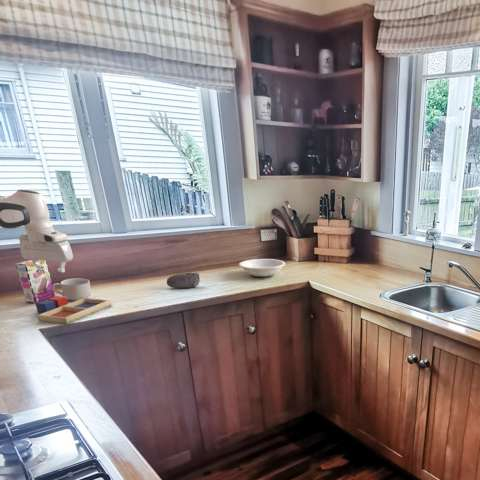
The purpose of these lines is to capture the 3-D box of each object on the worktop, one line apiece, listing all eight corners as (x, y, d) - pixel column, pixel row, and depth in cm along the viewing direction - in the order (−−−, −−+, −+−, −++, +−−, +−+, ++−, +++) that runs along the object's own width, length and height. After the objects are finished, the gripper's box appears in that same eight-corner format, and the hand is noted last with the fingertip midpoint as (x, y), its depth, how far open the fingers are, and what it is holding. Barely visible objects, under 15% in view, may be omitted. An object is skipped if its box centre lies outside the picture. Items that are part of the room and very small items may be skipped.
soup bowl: (270, 268, 265) (270, 257, 263) (294, 276, 250) (293, 264, 247) (232, 274, 251) (230, 262, 248) (254, 283, 235) (253, 270, 232)
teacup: (95, 294, 209) (91, 277, 206) (90, 301, 200) (86, 283, 196) (60, 296, 205) (55, 278, 202) (53, 303, 196) (48, 285, 192)
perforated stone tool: (167, 290, 219) (164, 275, 216) (168, 287, 224) (165, 272, 221) (200, 288, 224) (198, 274, 221) (200, 285, 228) (199, 271, 225)
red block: (50, 309, 189) (47, 299, 187) (59, 306, 193) (56, 296, 191) (60, 310, 188) (57, 299, 186) (68, 307, 192) (65, 296, 190)
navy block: (38, 314, 183) (34, 303, 181) (47, 310, 187) (44, 300, 185) (48, 315, 183) (45, 304, 181) (57, 311, 187) (54, 300, 185)
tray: (38, 321, 176) (37, 315, 175) (85, 303, 197) (84, 298, 196) (66, 324, 174) (65, 317, 173) (111, 306, 195) (109, 300, 194)
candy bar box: (36, 303, 196) (25, 264, 188) (25, 302, 196) (14, 263, 189) (56, 296, 206) (46, 258, 199) (46, 295, 206) (35, 258, 199)
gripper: (10, 235, 176) (22, 271, 182) (57, 238, 173) (67, 274, 179) (25, 232, 182) (35, 268, 188) (70, 235, 179) (80, 271, 185)
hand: (51, 271), depth 183 cm, fingers open, 8 cm apart
